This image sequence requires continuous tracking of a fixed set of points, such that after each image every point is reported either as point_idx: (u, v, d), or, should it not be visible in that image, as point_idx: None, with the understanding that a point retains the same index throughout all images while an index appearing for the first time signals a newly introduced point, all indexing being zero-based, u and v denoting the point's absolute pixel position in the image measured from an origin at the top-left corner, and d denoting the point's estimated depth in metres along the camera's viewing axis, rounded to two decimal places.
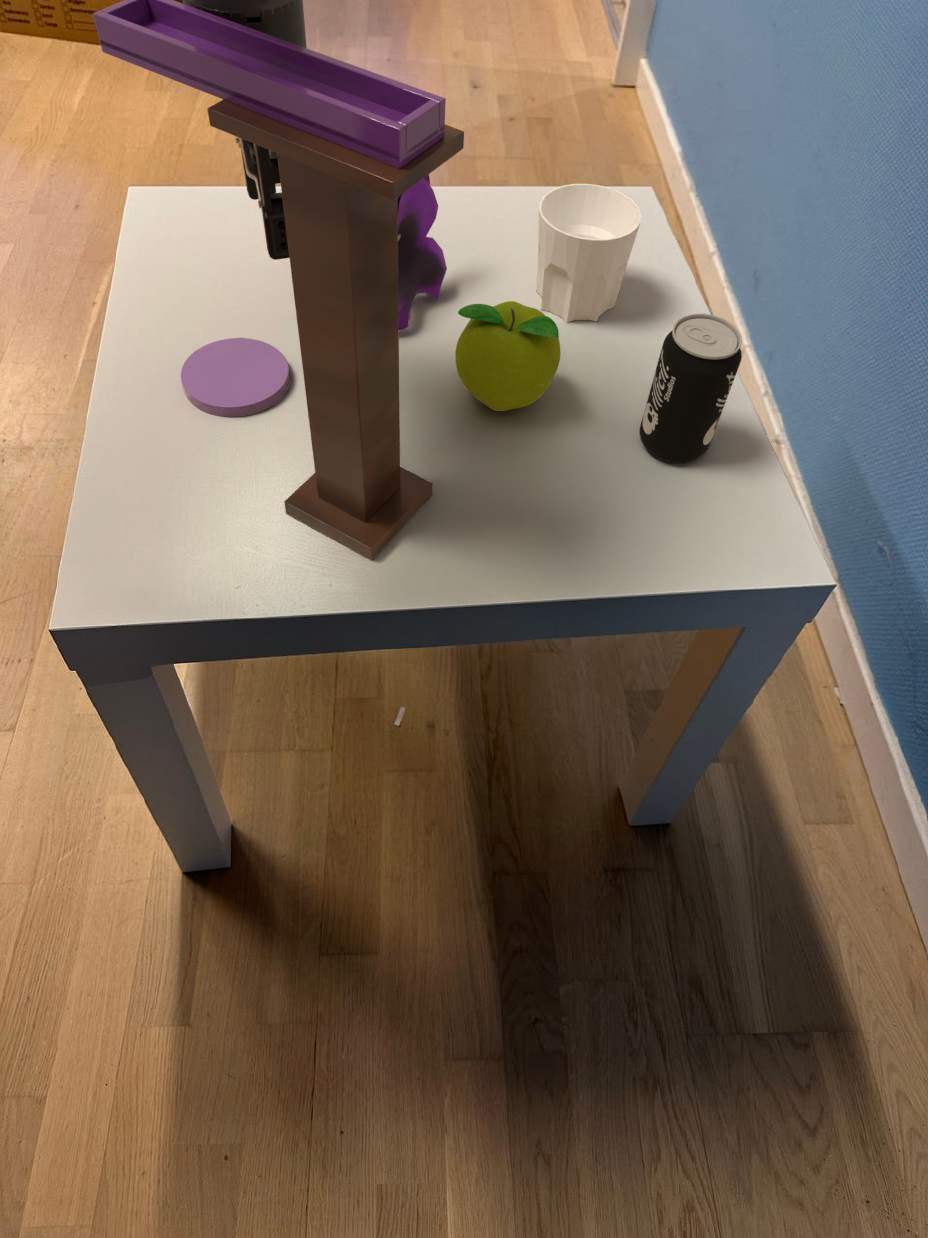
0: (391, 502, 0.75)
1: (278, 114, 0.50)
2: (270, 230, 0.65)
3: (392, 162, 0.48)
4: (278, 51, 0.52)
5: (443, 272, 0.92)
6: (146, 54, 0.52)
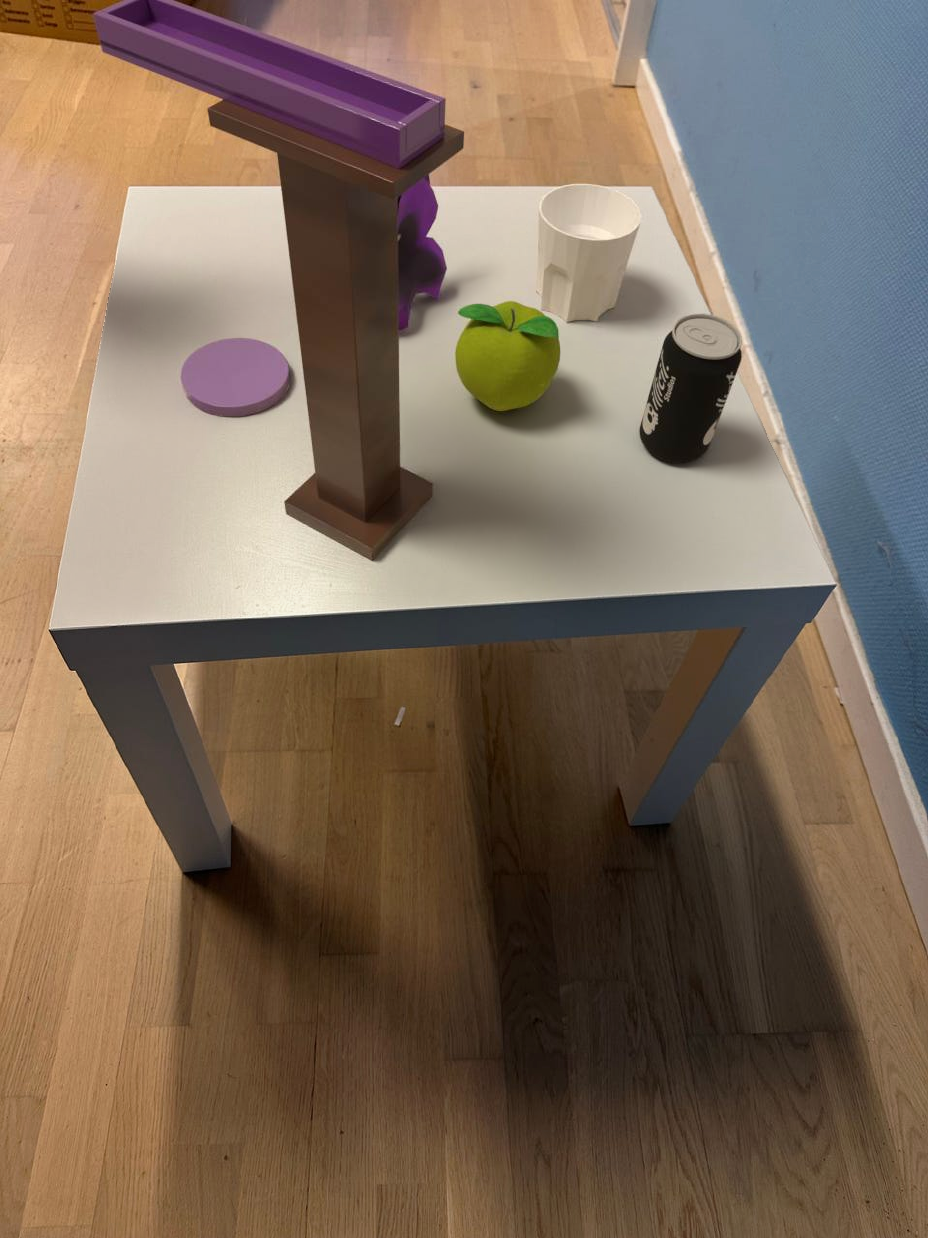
0: (391, 502, 0.75)
1: (278, 114, 0.50)
2: None
3: (392, 162, 0.48)
4: (278, 51, 0.52)
5: (443, 272, 0.92)
6: (146, 54, 0.52)
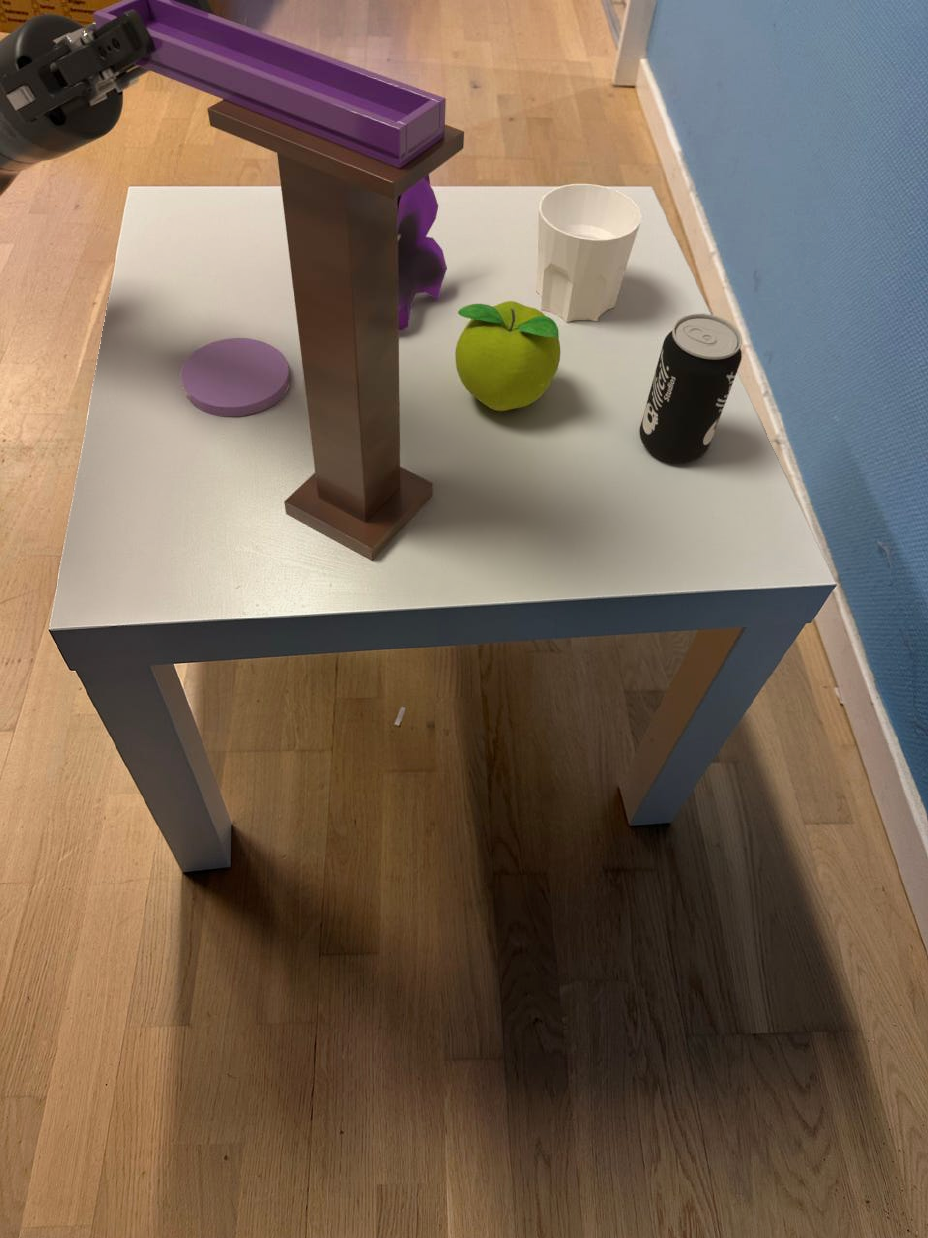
0: (391, 502, 0.75)
1: (278, 114, 0.50)
2: None
3: (392, 162, 0.48)
4: (278, 51, 0.52)
5: (443, 272, 0.92)
6: None
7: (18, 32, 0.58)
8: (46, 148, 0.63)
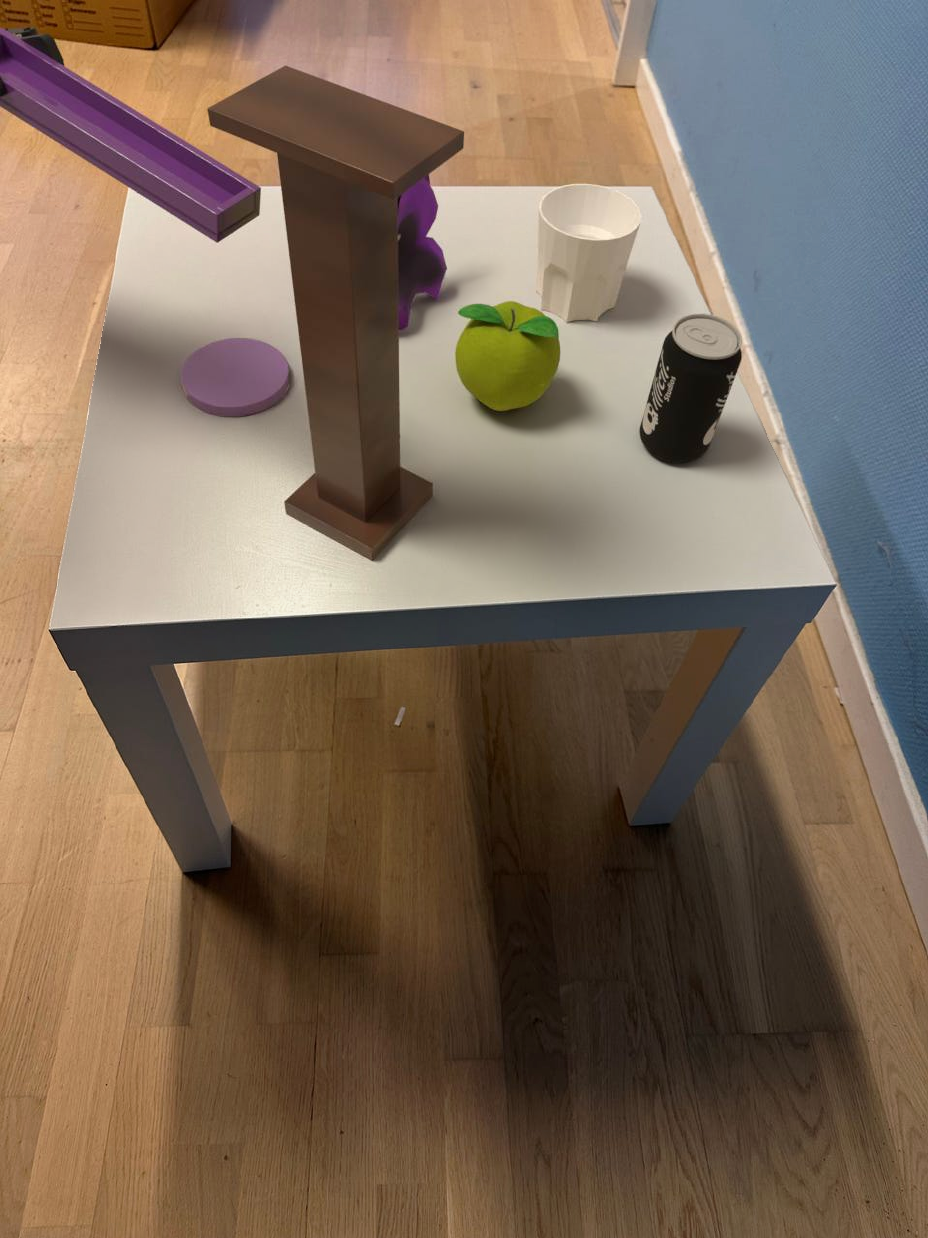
0: (391, 502, 0.75)
1: (116, 174, 0.59)
2: None
3: (211, 236, 0.58)
4: (120, 113, 0.60)
5: (443, 272, 0.92)
6: None
7: None
8: None
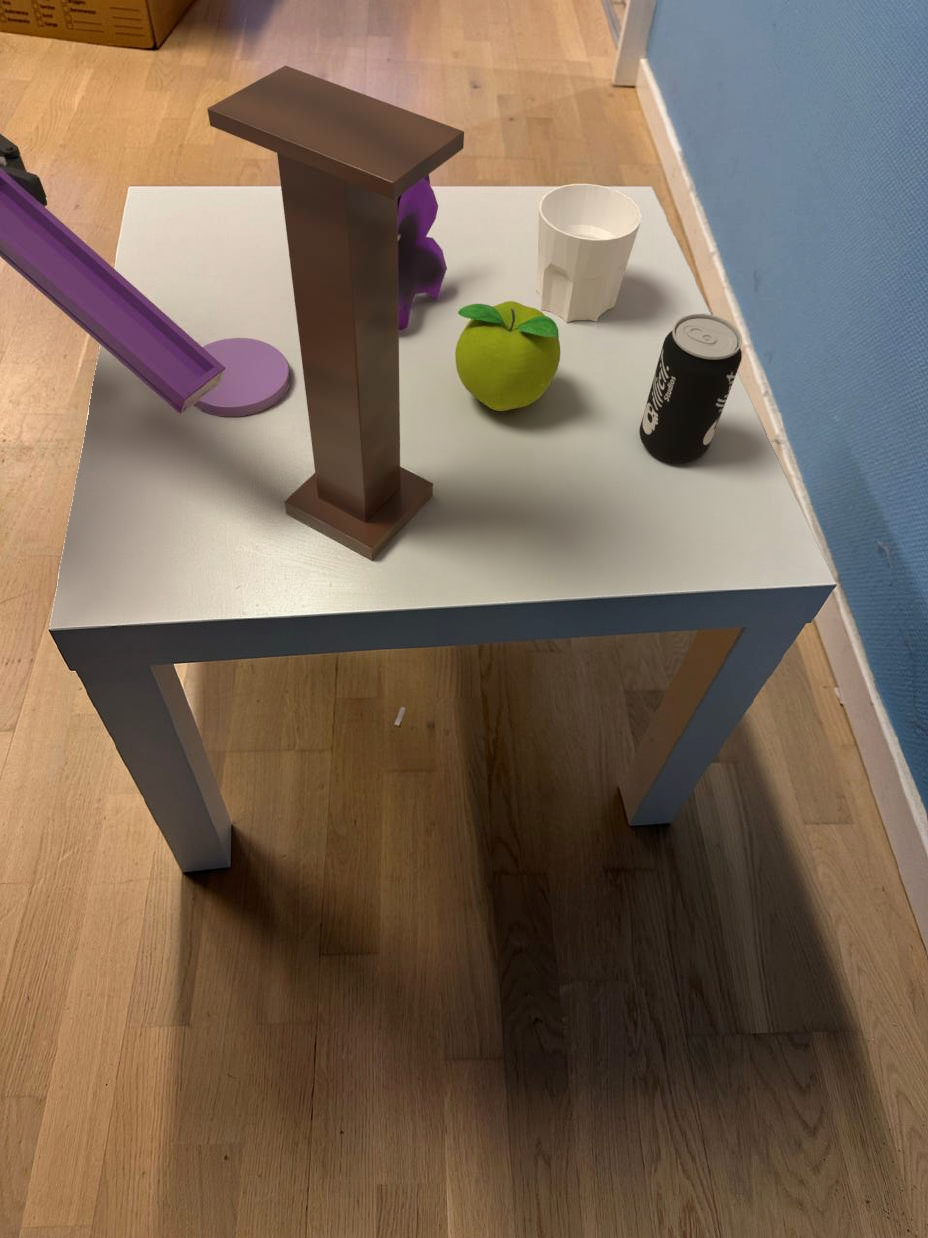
0: (391, 502, 0.75)
1: (92, 333, 0.64)
2: None
3: (176, 409, 0.65)
4: (100, 269, 0.65)
5: (443, 272, 0.92)
6: None
7: None
8: None
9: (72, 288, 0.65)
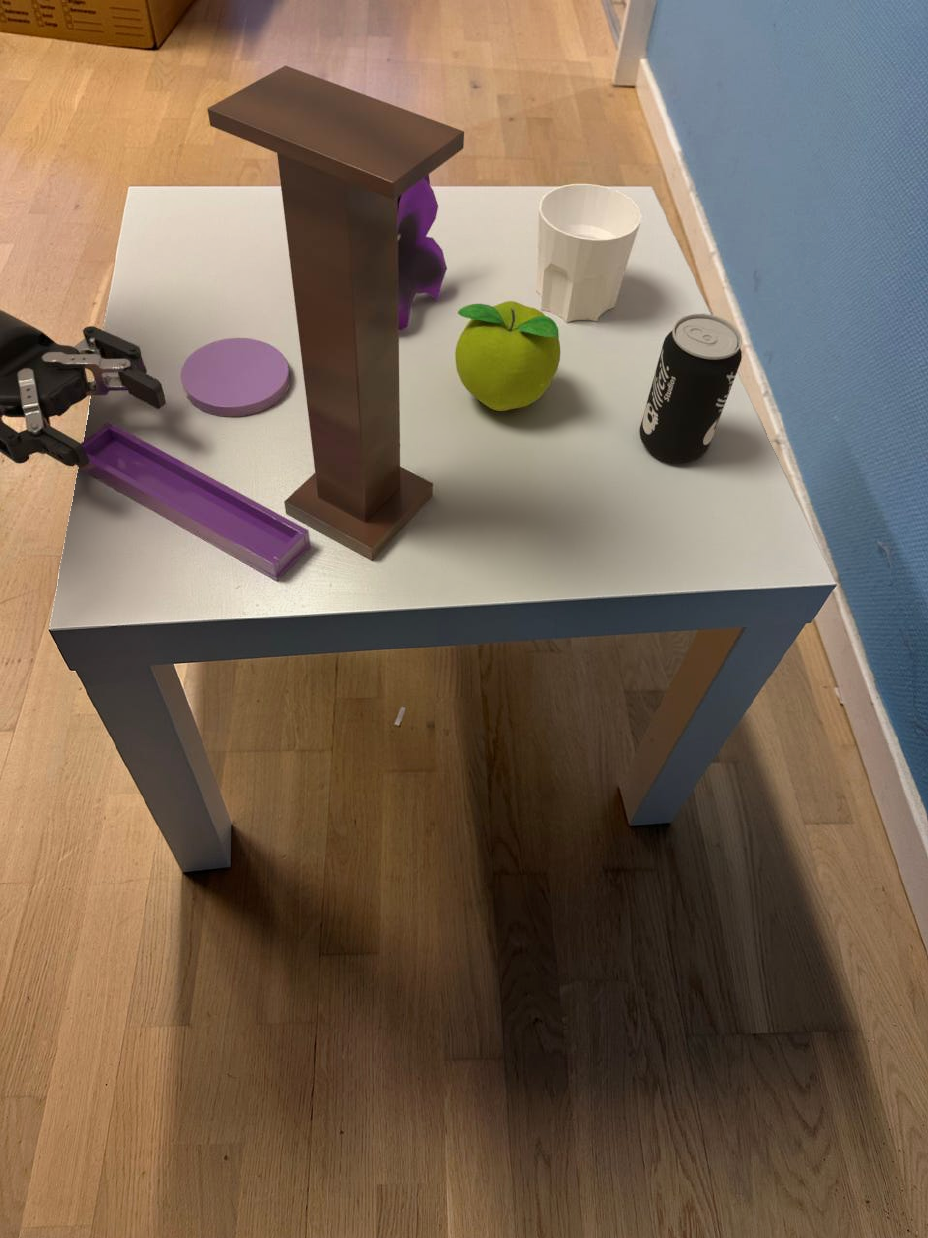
0: (391, 502, 0.75)
1: (197, 533, 0.74)
2: None
3: (271, 577, 0.72)
4: (199, 480, 0.75)
5: (443, 272, 0.92)
6: (108, 479, 0.76)
7: None
8: None
9: (179, 502, 0.75)
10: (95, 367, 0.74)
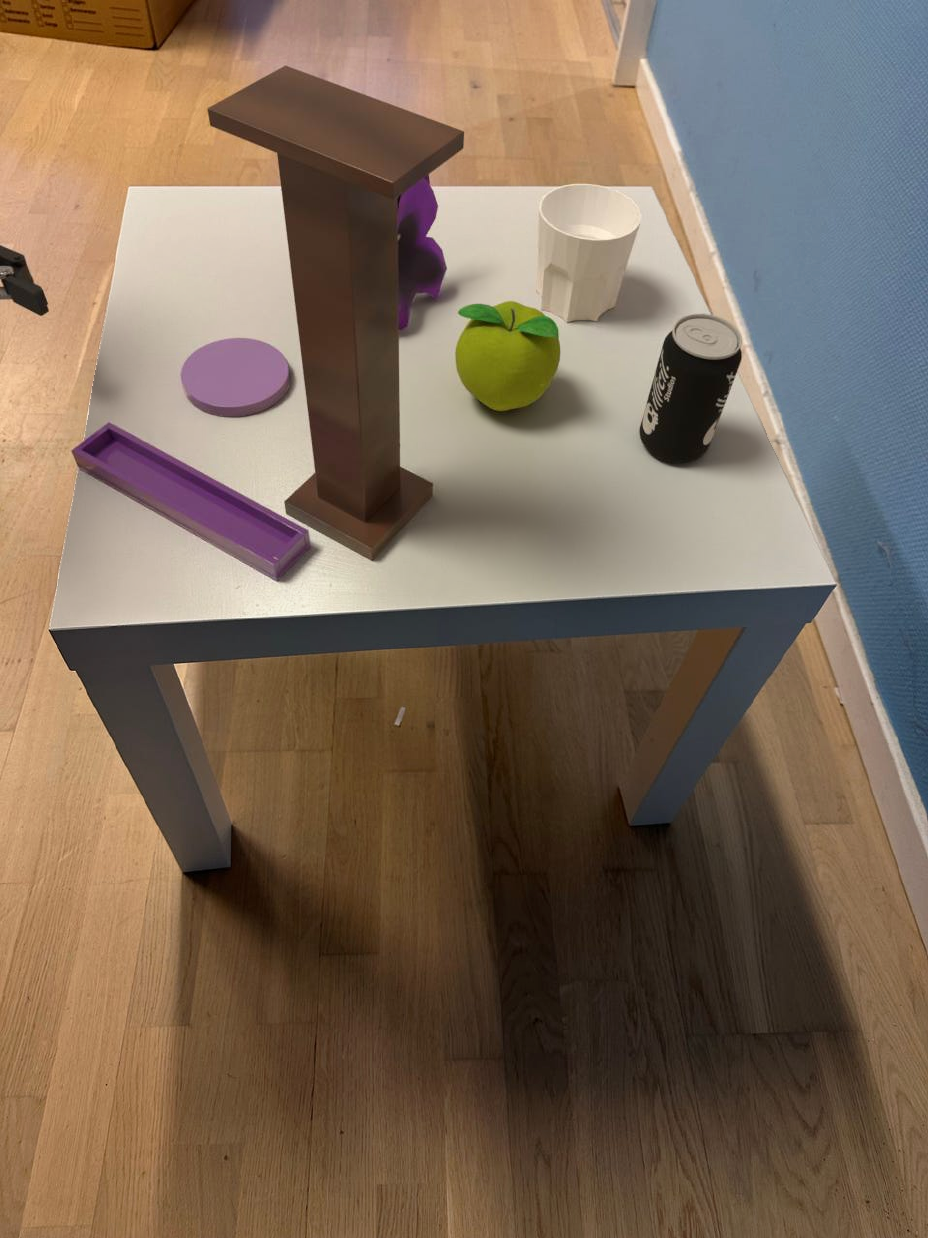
0: (391, 502, 0.75)
1: (197, 533, 0.74)
2: None
3: (271, 577, 0.72)
4: (199, 480, 0.75)
5: (443, 272, 0.92)
6: (108, 479, 0.76)
7: None
8: None
9: (179, 502, 0.75)
10: None
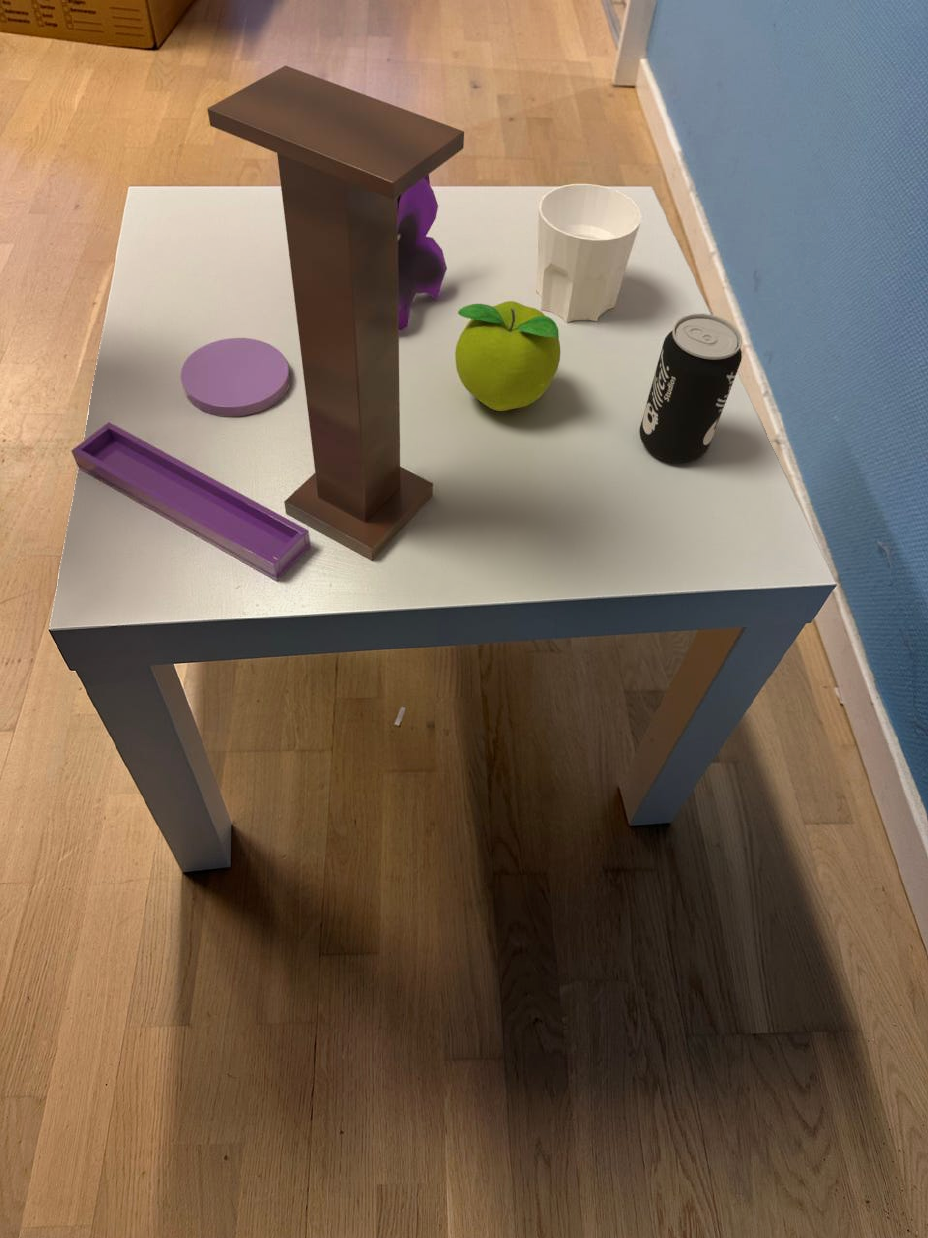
0: (391, 502, 0.75)
1: (197, 533, 0.74)
2: None
3: (271, 577, 0.72)
4: (199, 480, 0.75)
5: (443, 272, 0.92)
6: (108, 479, 0.76)
7: None
8: None
9: (179, 502, 0.75)
10: None
